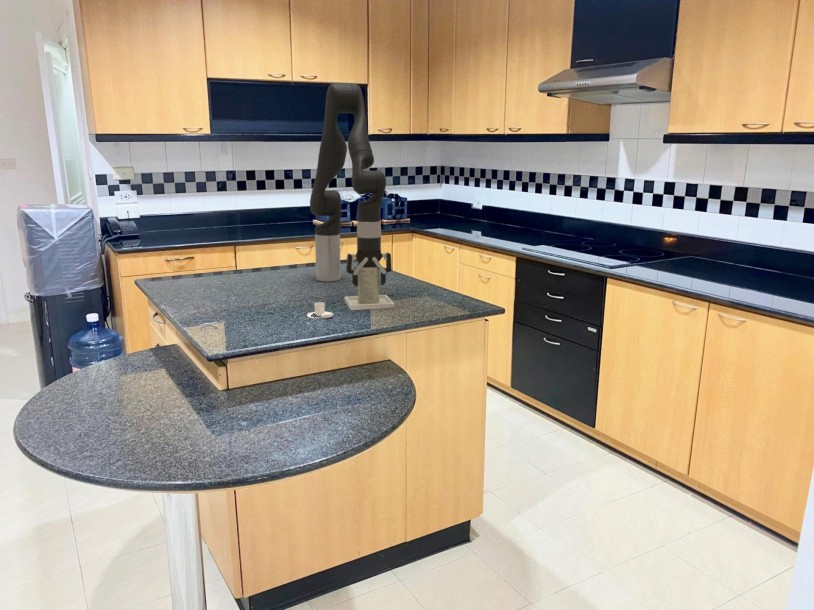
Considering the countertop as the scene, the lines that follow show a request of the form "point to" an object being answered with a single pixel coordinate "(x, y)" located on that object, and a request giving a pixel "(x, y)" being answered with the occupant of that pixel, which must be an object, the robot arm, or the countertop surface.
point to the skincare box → (368, 285)
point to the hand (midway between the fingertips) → (368, 285)
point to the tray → (382, 304)
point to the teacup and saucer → (320, 311)
